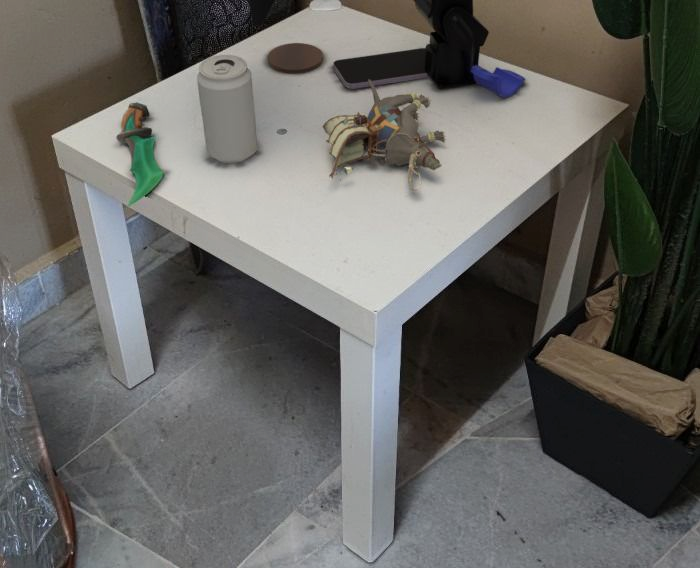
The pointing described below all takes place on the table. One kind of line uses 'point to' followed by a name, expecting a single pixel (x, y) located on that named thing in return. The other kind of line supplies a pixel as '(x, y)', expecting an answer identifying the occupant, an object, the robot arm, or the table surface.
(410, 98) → the figurine
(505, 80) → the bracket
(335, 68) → the smartphone
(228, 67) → the beverage can
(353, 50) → the table surface
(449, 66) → the robot arm
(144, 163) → the knife
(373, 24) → the table surface
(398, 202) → the table surface
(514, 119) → the table surface
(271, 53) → the coaster
